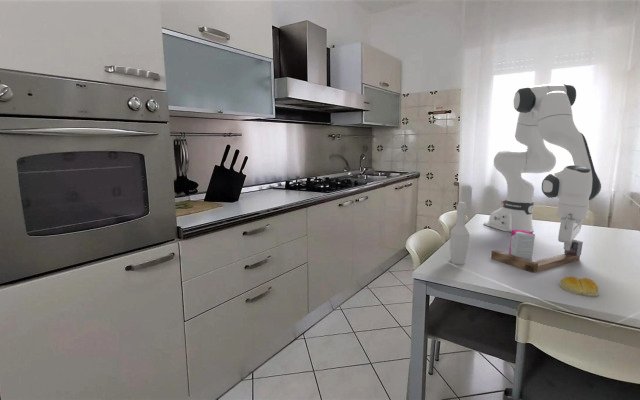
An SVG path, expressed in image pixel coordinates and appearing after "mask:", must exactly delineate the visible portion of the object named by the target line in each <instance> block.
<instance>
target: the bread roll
mask: <svg viewBox="0 0 640 400" xmlns="http://www.w3.org/2000/svg"><path fill="white" fill-rule="evenodd" d="M559 285H560V288H561V289H562V290H565V291H566V292H569V293H571V294H574V295H575V294H576V295H580V296H585V297H598V296H599V292H600V291H599V289H600V288H599V285H598V284H597V283H596V282H595V281H594V280H591V279H589V278H586V277H585V278H584V277H583V278H577V277H575V276H566V277H563V278H562V279H561V280H560V282H559Z"/></svg>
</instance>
